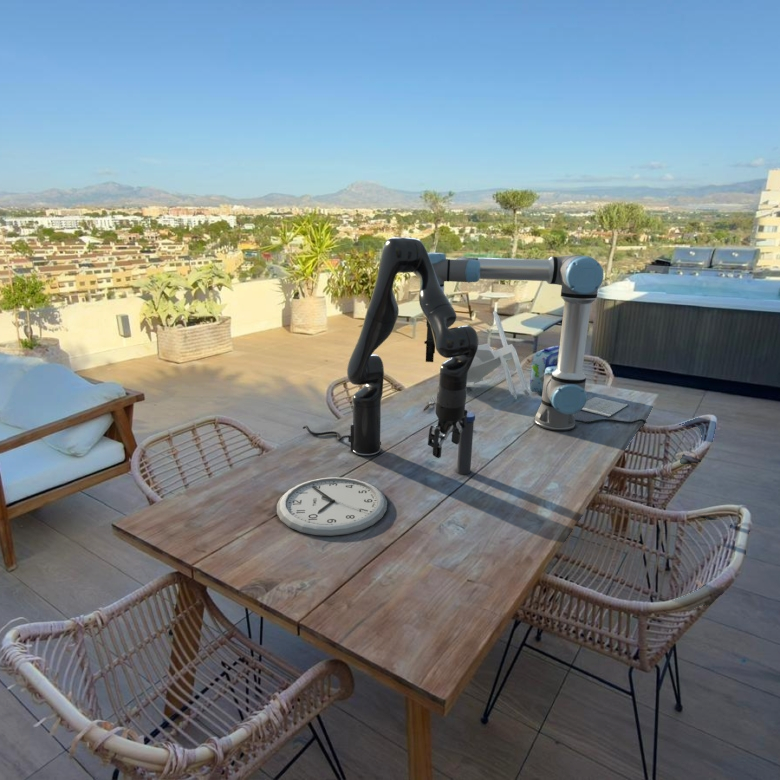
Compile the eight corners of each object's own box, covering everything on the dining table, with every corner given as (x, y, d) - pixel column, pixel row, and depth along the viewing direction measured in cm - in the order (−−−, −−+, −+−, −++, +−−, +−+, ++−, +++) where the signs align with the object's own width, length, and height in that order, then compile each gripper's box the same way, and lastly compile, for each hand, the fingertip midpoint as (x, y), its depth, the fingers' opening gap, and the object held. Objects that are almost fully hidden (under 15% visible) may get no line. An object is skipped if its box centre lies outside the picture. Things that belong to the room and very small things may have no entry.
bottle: (454, 471, 164) (457, 415, 158) (461, 467, 167) (465, 412, 161) (465, 475, 161) (469, 419, 156) (472, 471, 164) (476, 415, 159)
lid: (455, 419, 159) (456, 414, 158) (464, 415, 162) (465, 410, 162) (469, 423, 156) (469, 418, 155) (477, 419, 159) (478, 414, 159)
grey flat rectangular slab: (608, 416, 214) (573, 407, 224) (608, 416, 214) (573, 408, 224) (628, 404, 229) (594, 396, 238) (628, 405, 229) (594, 397, 238)
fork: (420, 411, 216) (420, 406, 216) (430, 400, 230) (431, 395, 230) (426, 412, 215) (426, 407, 215) (436, 401, 230) (436, 396, 229)
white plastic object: (461, 429, 252) (437, 405, 227) (444, 352, 274) (420, 323, 250) (535, 404, 240) (518, 377, 215) (510, 326, 262) (492, 293, 237)
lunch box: (546, 399, 235) (551, 353, 228) (525, 393, 242) (530, 349, 236) (574, 387, 252) (579, 345, 246) (553, 383, 260) (558, 341, 253)
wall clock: (392, 527, 129) (268, 531, 127) (391, 533, 130) (269, 537, 127) (383, 473, 158) (282, 475, 155) (383, 478, 158) (282, 480, 156)
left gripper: (455, 384, 142) (450, 433, 151) (422, 404, 133) (419, 455, 141) (478, 394, 138) (472, 444, 146) (446, 415, 129) (441, 467, 137)
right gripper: (424, 293, 195) (422, 349, 202) (419, 302, 172) (417, 365, 178) (444, 294, 195) (441, 350, 201) (442, 303, 171) (439, 366, 177)
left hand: (446, 449), depth 144 cm, fingers open, 8 cm apart
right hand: (430, 357), depth 190 cm, fingers open, 13 cm apart
